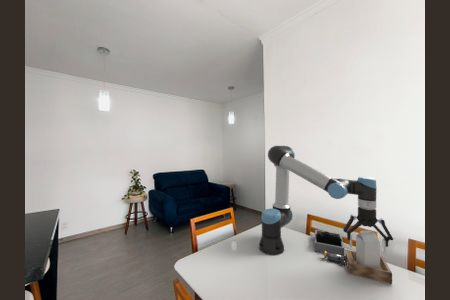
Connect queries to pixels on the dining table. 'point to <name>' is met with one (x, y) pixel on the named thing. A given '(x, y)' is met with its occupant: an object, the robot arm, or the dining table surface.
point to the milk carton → (368, 249)
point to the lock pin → (333, 256)
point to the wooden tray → (368, 268)
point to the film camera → (328, 239)
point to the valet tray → (329, 248)
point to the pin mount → (337, 260)
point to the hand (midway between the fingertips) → (366, 249)
